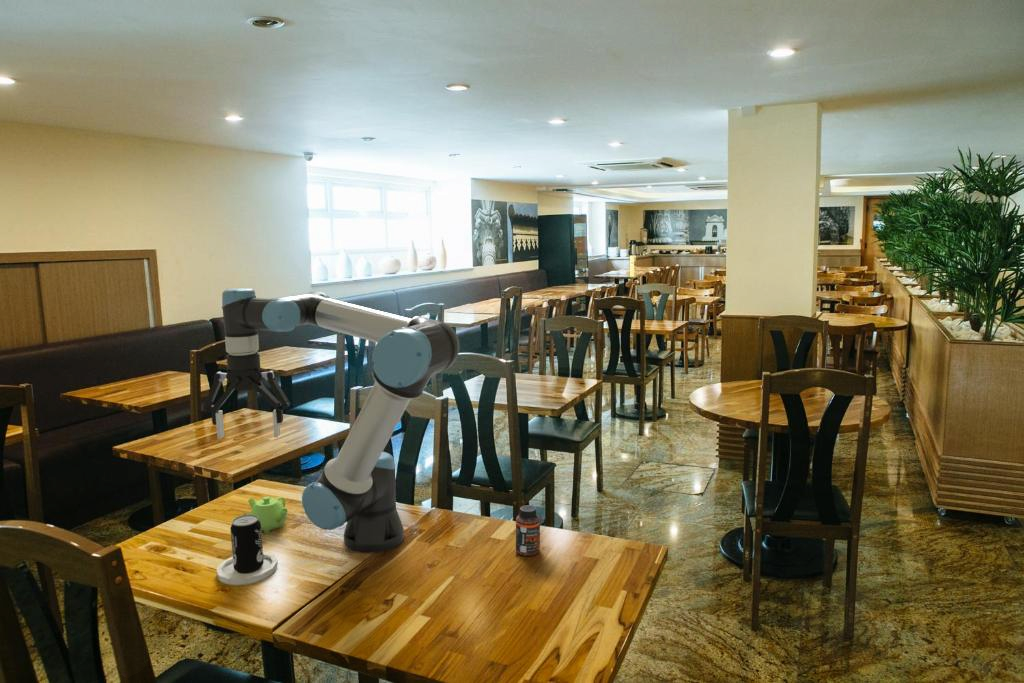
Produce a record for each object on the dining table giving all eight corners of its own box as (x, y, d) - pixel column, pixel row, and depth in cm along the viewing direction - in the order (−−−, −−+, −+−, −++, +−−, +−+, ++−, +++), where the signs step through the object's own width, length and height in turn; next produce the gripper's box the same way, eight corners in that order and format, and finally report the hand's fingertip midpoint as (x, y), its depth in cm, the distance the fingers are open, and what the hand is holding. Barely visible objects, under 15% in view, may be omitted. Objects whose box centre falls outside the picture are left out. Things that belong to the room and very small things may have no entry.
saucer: (283, 557, 169) (283, 551, 168) (266, 584, 156) (266, 578, 156) (230, 558, 168) (229, 552, 168) (208, 586, 156) (207, 579, 155)
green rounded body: (292, 516, 192) (290, 487, 190) (288, 534, 181) (286, 504, 179) (250, 520, 190) (247, 491, 188) (243, 539, 179) (240, 508, 177)
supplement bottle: (527, 559, 167) (526, 515, 165) (510, 551, 171) (510, 507, 169) (545, 551, 171) (545, 508, 169) (528, 543, 175) (528, 501, 173)
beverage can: (253, 576, 158) (250, 526, 156) (228, 573, 159) (223, 524, 157) (269, 562, 165) (265, 514, 162) (244, 560, 166) (240, 512, 164)
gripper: (298, 348, 172) (303, 430, 176) (195, 350, 171) (203, 433, 174) (291, 354, 165) (296, 439, 169) (183, 356, 163) (191, 442, 167)
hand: (249, 436), depth 172 cm, fingers open, 13 cm apart
